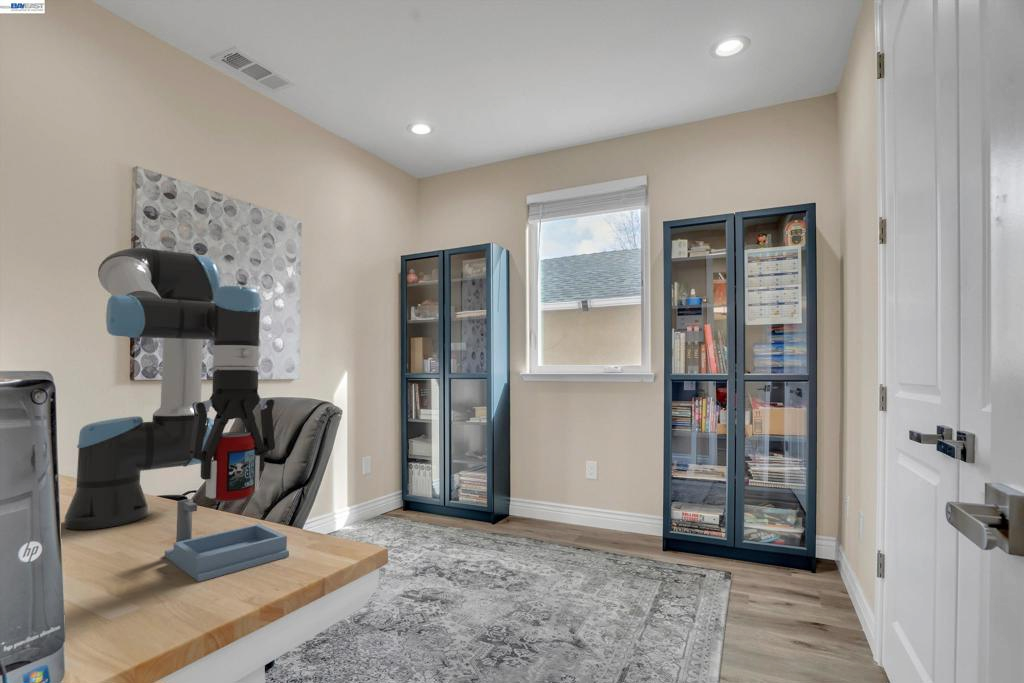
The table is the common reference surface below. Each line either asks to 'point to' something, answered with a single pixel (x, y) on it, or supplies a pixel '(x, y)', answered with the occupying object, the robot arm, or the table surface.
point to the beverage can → (234, 466)
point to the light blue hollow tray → (222, 547)
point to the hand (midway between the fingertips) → (232, 493)
